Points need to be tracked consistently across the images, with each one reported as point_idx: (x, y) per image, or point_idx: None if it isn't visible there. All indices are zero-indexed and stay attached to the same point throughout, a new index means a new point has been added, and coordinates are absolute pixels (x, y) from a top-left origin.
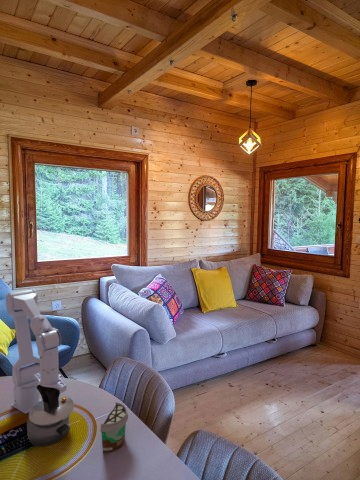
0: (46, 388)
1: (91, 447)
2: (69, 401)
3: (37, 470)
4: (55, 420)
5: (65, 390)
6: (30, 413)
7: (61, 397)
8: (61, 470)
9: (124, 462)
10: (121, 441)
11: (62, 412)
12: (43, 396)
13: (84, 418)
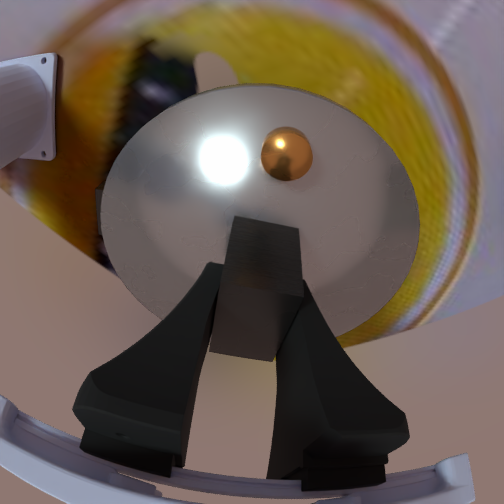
0: (189, 423)
1: (476, 224)
2: (353, 152)
3: (346, 337)
4: (357, 323)
5: (460, 459)
6: (164, 315)
7: (225, 121)
8: (413, 318)
9: None
10: None
11: (366, 270)
12: (198, 379)
13: (375, 54)
